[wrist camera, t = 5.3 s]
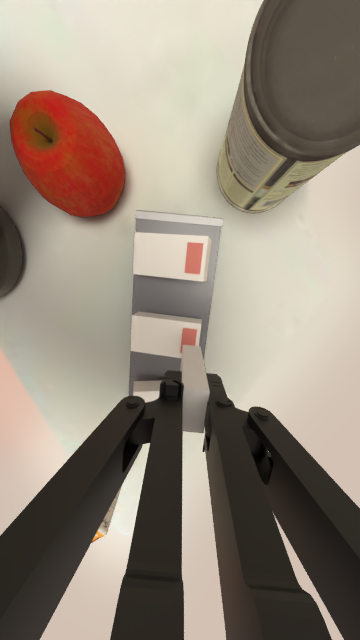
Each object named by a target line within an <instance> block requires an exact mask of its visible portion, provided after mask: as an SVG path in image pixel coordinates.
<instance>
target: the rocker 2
mask: <svg viewBox="0 0 360 640" xmlns="http://www.w3.org/2000/svg"><path fill="white" fill-rule="evenodd" d="M211 241H212V240H211V239H210V237H209V236H196V235H178V234H159V233H141V232H135V235H134V260H133V274H138V275H147V276H156V277H165V278H174V279H183V280H192V281H201V282H204V281H207V273H208V265H209V257H210V249H211Z"/></svg>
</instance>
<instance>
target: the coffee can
mask: <svg viewBox="0 0 360 640" xmlns="http://www.w3.org/2000/svg"><path fill="white" fill-rule="evenodd" d="M358 145H360V0H264V1H263V3H262V5H261V7H260V9H259V11H258V13H257V16H256V19H255V21H254V24H253V27H252V30H251V34H250V37H249V42H248V46H247V52H246V58H245V64H244V68H243V72H242V76H241V79H240V83H239V87H238V91H237V94H236V98H235V102H234V105H233V109H232V113H231V117H230V120H229V124H228V128H227V132H226V135H225V139H224V143H223V147H222V150H221V152H220V155H219V159H218V165H217V178H218V183H219V187H220V190H221V192H222V194H223V195H224V197H225V198H226V200H227V201H228V202H229V203H230V204H231V205H232V206H234V207H235V208H237V209H239V210H241V211H244V212H249V213H259V212H264V211H267V210H269V209H271V208H273V207H275V206H277V205H278V204H279V203H281V202H282V201H283V200H284V199H285V198H286V197H288V196H289V195H290V194H292V193H293V192H294V191H296V190H297V189H298V188H300V187H301V186H302V185H304V184H305V183H306V182H308V181H309V180H310V179H312V178H313V177H314V176H315V175H317V174H318V173H319V172H321V171H322V170H323V169H324V168H326V167H327V166H329V165H330V164H331V163H333V162H334V161H335V160H337V159H338V158H339V157H341V156H342V155H343V154H345V153H346V152H348V151H349V150H351V149H353V148H355V147H356V146H358Z"/></svg>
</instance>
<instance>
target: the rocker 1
mask: <svg viewBox="0 0 360 640" xmlns="http://www.w3.org/2000/svg"><path fill="white" fill-rule="evenodd" d="M162 381H163V380H160V381H134V388H133V396H139V397H141V398H143V399H144V400H145V402H151V401H154V400H156V399H158V398H159V392H160V383H161V382H162Z"/></svg>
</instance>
